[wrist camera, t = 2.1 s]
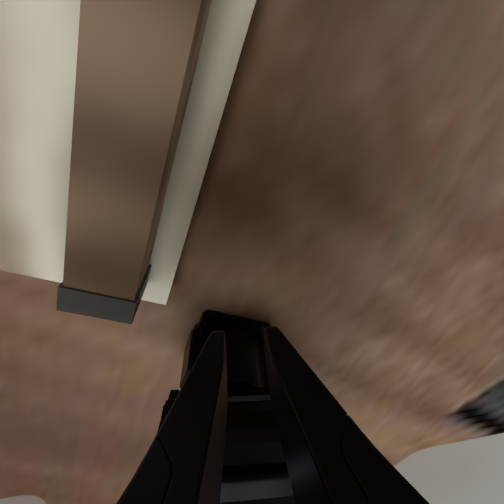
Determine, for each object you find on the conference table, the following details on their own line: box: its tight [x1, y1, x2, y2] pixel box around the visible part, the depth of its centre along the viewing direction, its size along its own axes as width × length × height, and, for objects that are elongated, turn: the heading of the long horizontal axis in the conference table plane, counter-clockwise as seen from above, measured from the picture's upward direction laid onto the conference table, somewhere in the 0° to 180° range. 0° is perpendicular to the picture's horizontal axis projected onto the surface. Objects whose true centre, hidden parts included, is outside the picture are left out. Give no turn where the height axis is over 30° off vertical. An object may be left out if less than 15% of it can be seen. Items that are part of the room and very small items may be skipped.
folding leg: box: [57, 0, 212, 324], centre depth 12 cm, size 19×4×5 cm, turn 159°
